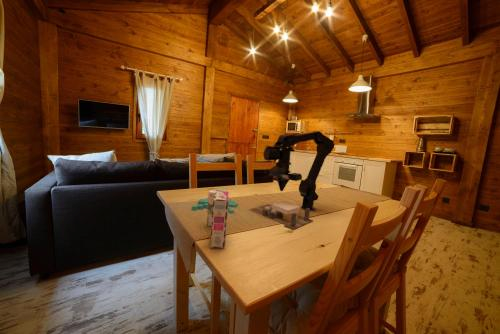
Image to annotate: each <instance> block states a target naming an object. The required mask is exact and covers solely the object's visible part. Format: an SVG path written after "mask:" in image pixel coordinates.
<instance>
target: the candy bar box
mask: <svg viewBox="0 0 500 334" xmlns="http://www.w3.org/2000/svg"><path fill="white" fill-rule="evenodd" d="M228 199H229V191H227V192H218V191H216V193H215V196H214V199H213V214H212V227H210V228H211V230H210V231H211V232H210V242H209V243H210V244H209V245H210V246H209V248H210V249H211V248H212V249H225V248H226V247H225V244H226V235H227V224H228V214H229V211H228Z"/></svg>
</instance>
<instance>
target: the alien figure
mask: <svg viewBox="0 0 500 334" xmlns="http://www.w3.org/2000/svg"><path fill="white" fill-rule="evenodd" d="M238 205H239V202H235V201H234V200H232V199H230V198H228V214H234V213H235V209H232V208H237V207H238ZM204 209H207V210H208V198H207V197H205V198H200V199H199V200H198V201H197V205H195V204H193V205H192V206H191V211H193V212H194V211H197V210H200V211H201V210H202V211H203V210H204Z"/></svg>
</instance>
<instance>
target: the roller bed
mask: <svg viewBox="0 0 500 334" xmlns="http://www.w3.org/2000/svg"><path fill="white" fill-rule="evenodd" d="M247 210H248V211H250V212H251V213H254V214H257V215H259V216H261V217H264V218H266V219H269V220H271V221H274V222H277V223H279V224H281V225H282V226H284V227H285V228H287V229H290V230H292V231H295V230H297V229H299V228H302V227H304V226H306V225H308V224H310V223H313V222H314V220H313V219H310V213H311V211H310V208H307V209H304V216H303V215H299V214H298V220H296V216H297V213H292V215H291V221H288V220H285V219H283V213H282V212H279V211H277V210H274V209H272V204H269V203H268V204H264V205H259V206H257V207H252V208H249V209H247Z"/></svg>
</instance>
